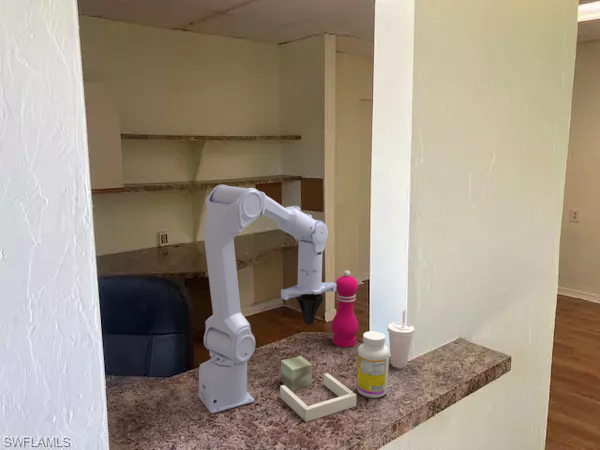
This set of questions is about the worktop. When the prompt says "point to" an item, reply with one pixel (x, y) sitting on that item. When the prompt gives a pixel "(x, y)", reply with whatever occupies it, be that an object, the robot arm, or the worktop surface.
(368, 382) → the supplement bottle
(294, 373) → the block
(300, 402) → the block
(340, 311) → the pepper mill
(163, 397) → the worktop surface
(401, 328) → the smoothie
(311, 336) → the worktop surface
